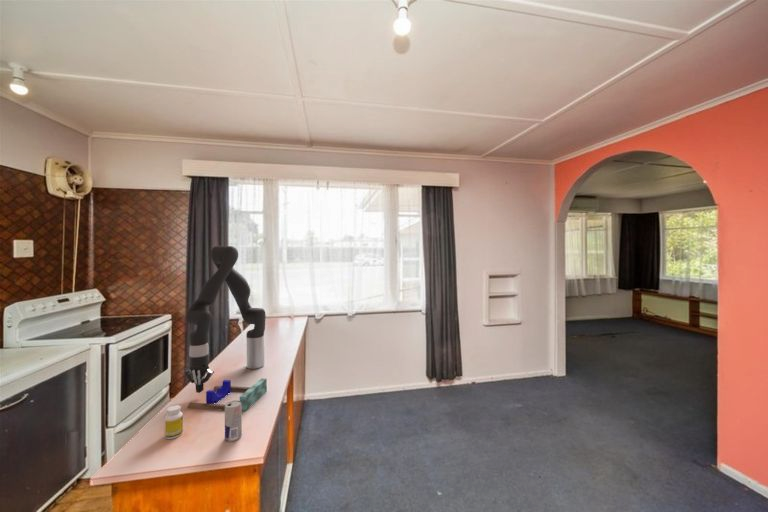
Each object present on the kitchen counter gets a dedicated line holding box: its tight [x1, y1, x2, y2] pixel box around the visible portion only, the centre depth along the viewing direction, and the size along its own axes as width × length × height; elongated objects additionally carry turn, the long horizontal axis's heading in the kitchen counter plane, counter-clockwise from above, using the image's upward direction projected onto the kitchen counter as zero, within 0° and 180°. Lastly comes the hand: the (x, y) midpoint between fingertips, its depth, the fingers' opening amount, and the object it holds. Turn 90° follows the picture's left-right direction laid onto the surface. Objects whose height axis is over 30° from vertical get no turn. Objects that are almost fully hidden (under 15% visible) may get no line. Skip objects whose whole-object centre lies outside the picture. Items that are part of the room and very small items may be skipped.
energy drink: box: [224, 400, 243, 443], centre depth 108 cm, size 5×5×12 cm
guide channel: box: [187, 378, 268, 412], centre depth 136 cm, size 18×26×6 cm
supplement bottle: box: [164, 404, 184, 440], centre depth 109 cm, size 5×5×10 cm
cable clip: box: [205, 379, 232, 404], centre depth 136 cm, size 12×4×6 cm, turn 172°
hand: (199, 391), depth 137 cm, fingers closed
